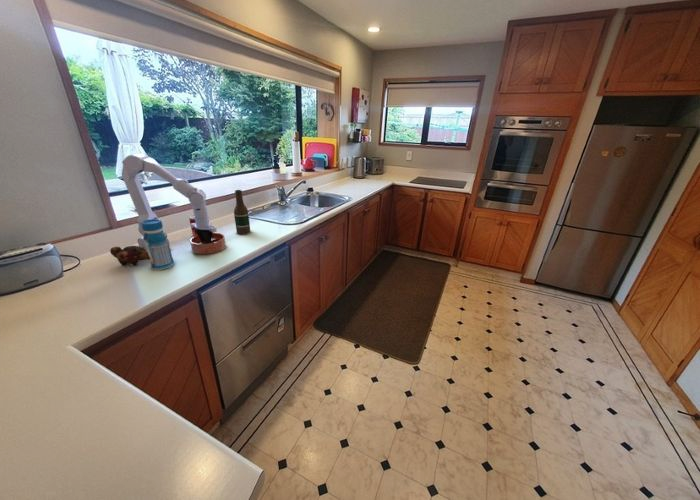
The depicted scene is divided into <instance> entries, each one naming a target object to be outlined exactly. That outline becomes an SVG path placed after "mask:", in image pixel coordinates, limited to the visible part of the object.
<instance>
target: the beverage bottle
mask: <svg viewBox="0 0 700 500" xmlns="http://www.w3.org/2000/svg"><path fill="white" fill-rule="evenodd" d="M141 224H142V228H143V230H144V231H145V234H144V237H143V239H144V241H145V247H146V248H147V252H148V255H149V258H150V260H149V262H150V266H151V269H153V270H156V271H159V270H160V271H161V270H166V269H169V268H171V267H173V266H174V264H175V261H174V259H173V253H172V251H171V250H172V249H171V245H170V241H169V240H170V239H168V234H167V233H166V232H165V230H163V228H164V227H163V222H162V220H161V219H159V218H158V219H151V220H146V221H143V222H142V223H141ZM170 249H171V250H170Z"/></svg>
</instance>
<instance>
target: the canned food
mask: <svg viewBox="0 0 700 500" xmlns="http://www.w3.org/2000/svg"><path fill="white" fill-rule="evenodd" d="M188 219H189V223H190V225H191V224H192V223H196V222H195V217H194V214H192V215H190V216H189V218H188ZM190 229H191V233H192V237H194V236H197V234H196V233H195V232H194V230H196V229H197V228H192V227H191V226H190Z"/></svg>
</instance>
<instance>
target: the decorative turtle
mask: <svg viewBox="0 0 700 500" xmlns="http://www.w3.org/2000/svg"><path fill="white" fill-rule="evenodd" d="M109 252H110V254H111V256H113V258H115V259H116V260H117V261H118V263H120V265H121V266H123V267H125V266H127V265H128V264H130V265H131V266H134V267H135V266H138V264H139V262H141V261H150V258H149V255H148V253H147V251H146V250H145V249H144V248H142V247H139V245H128V246H124V247H123V248H122V247H120V246H113V247H111V248H110V250H109Z"/></svg>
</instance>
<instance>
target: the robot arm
mask: <svg viewBox="0 0 700 500" xmlns="http://www.w3.org/2000/svg"><path fill="white" fill-rule="evenodd" d="M121 163H122V169H121V178H122V180H123V183H124V185H125V187H126V189H127V192H128V194H129V196H130V198H131V201H132V203H133V206H134V208H135V210H136V213H137V216H138V217H137V225H138V227H137V228H138V229H137V230H138V232H139V233H140V235H142V236H141V237H139V238H138V239H137V244H138V246H139V247H142V248H144V249H145V250H146V251H147V248H146V247H145V241H144V239H143V237H144V234H145V231H144V230H143V228H142V224H141V223H142V222H143V221H146V220H151V219H159V218H158V215H157V214H156V213H154V212H153V210H152V207H151V204H150V202H149V200H148V197H147V194H146V192H145V189H144V188H143V184H142V182H141V180H140V177H141V175H142V173H143V172H144V173H153V174H155V175H157V176H158V177H160V178H162V179H163V180H165V181H166V182H167V183H170V184H171V185H172V188H173V189H174V190H175V191H176V192H178V193H179V194H181V195H182V196H183V197H185V198H186V199H188V201H189V203H190V204H191V207H192V212H193V215H194V217H195V222H196V223H192V224H190V228H191V227H192V228H197V229H196V230H194V232H195V233H196V234H197V235H198V237H199V238H200V240H201V242H204V241H205V242H206V244H208V243H211V238H212V234H213V233H218V232H217V227H215V226H213V225H212V223H210V217H209V212H208V208H207V203H206V199H207V194H206V192H205V191H203V190H202V189H199V188H198V187H195V186H193V185H192V184H191V183H189V180H187V179H184V178H178V177H176V175H174V174H172V172H170V171H169V170H167V169H166V168H165V167H164V166H163V165H161V164H159V162H158V161H156V160H155V158H153V157H150V156H149V155H148V154H146V153H143V152H139V153H135V154H129V155H127V156H125V158H124V159H123V160H122V161H121ZM170 250H172V249H171V248H170ZM147 253H148V252H147Z"/></svg>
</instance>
